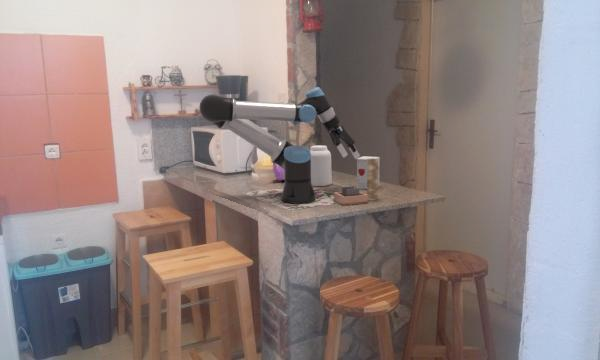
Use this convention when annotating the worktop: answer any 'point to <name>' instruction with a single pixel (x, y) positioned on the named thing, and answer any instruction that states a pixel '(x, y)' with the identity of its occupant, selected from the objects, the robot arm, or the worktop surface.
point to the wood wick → (372, 179)
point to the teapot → (278, 172)
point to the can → (320, 166)
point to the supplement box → (364, 171)
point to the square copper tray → (350, 196)
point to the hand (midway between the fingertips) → (351, 156)
